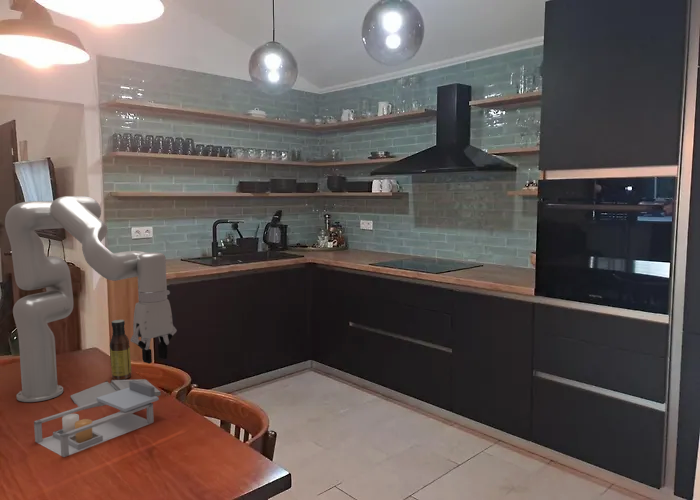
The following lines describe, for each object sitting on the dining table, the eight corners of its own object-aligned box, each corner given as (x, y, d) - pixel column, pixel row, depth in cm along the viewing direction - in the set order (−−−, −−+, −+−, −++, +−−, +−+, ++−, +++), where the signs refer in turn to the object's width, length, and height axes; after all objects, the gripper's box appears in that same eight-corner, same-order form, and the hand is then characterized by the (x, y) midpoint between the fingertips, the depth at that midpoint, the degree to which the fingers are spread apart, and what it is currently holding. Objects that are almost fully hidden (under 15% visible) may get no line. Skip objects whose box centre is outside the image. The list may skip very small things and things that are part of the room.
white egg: (60, 436, 137) (59, 417, 137) (75, 431, 140) (74, 412, 140) (67, 440, 135) (66, 420, 135) (82, 434, 138) (81, 415, 138)
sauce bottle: (121, 373, 188) (118, 317, 186) (135, 375, 186) (133, 319, 184) (106, 379, 182) (104, 321, 180) (121, 382, 180) (119, 323, 178)
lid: (96, 400, 147) (95, 389, 146) (130, 389, 155) (129, 378, 154) (124, 411, 139) (124, 399, 139) (158, 399, 147) (158, 388, 147)
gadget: (81, 415, 154) (80, 402, 154) (69, 399, 166) (69, 388, 165) (161, 397, 168) (160, 385, 168) (145, 383, 180) (145, 373, 179)
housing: (35, 444, 134) (33, 421, 134) (124, 413, 154) (123, 392, 153) (64, 460, 126) (62, 435, 126) (153, 425, 146) (152, 403, 145)
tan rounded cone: (72, 442, 134) (71, 422, 133) (87, 436, 137) (86, 417, 136) (80, 446, 132) (79, 426, 131) (95, 440, 135) (95, 421, 134)
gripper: (170, 291, 160) (172, 351, 162) (117, 300, 147) (120, 365, 149) (186, 293, 156) (188, 355, 158) (133, 303, 142) (136, 370, 144)
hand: (155, 359), depth 153 cm, fingers open, 4 cm apart
